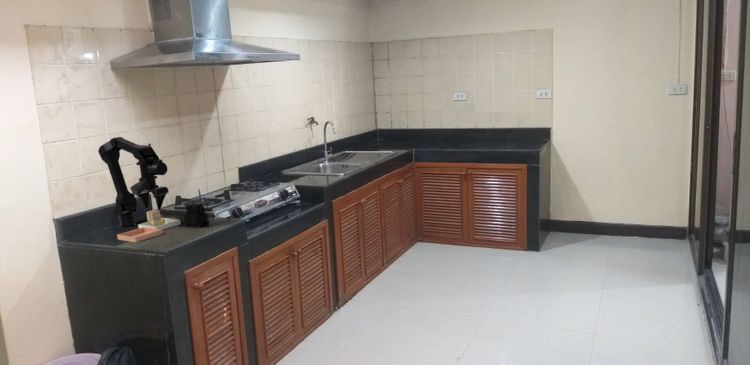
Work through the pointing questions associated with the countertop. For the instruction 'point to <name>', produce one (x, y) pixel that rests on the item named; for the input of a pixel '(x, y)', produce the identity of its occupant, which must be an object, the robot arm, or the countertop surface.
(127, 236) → the terracotta dish
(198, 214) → the toy
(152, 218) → the birch block
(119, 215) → the robot arm
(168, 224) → the grey tub
